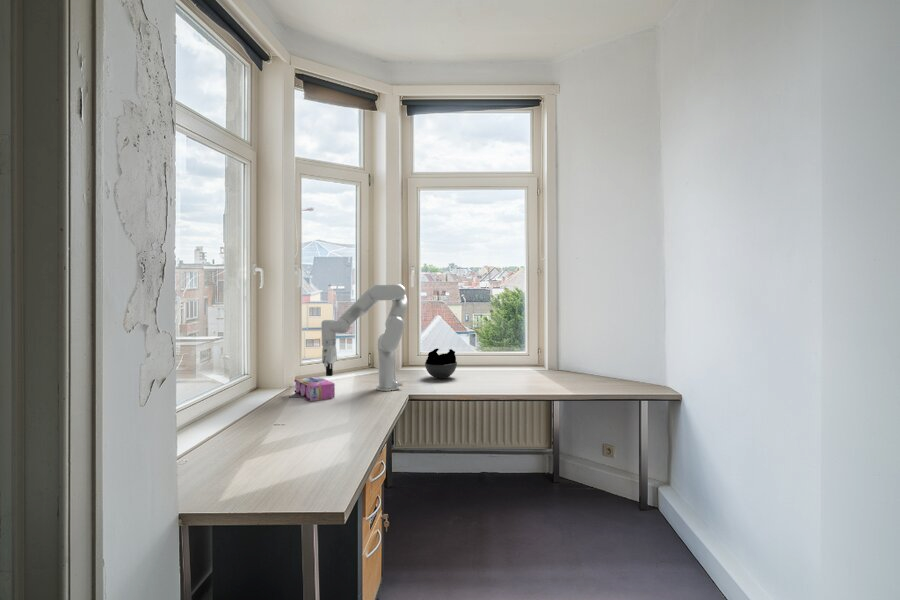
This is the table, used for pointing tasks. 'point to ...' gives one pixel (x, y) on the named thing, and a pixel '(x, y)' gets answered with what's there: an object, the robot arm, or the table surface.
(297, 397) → the charcoal mat
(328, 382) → the pink multipack carton
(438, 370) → the bowl of black rocks
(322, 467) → the table surface
